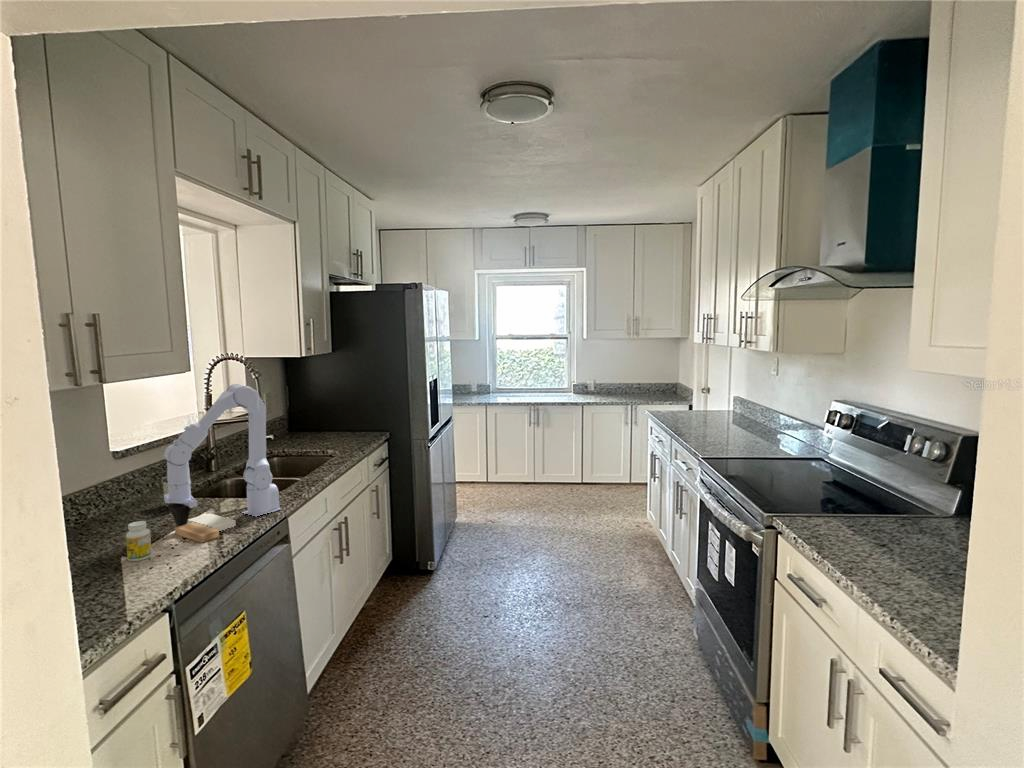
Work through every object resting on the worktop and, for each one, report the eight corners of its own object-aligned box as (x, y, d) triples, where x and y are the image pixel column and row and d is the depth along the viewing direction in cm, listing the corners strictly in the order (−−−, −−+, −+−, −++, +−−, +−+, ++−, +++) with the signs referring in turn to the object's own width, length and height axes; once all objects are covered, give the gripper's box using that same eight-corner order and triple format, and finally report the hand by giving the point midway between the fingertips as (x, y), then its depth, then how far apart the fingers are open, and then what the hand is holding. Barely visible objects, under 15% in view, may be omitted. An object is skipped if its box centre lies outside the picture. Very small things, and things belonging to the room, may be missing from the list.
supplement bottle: (155, 556, 144) (153, 522, 143) (133, 563, 139) (130, 528, 138) (145, 552, 146) (143, 518, 146) (123, 559, 142) (121, 524, 141)
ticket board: (209, 519, 173) (208, 512, 172) (235, 526, 166) (235, 519, 166) (185, 526, 166) (185, 519, 166) (212, 534, 159) (212, 527, 159)
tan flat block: (191, 528, 164) (191, 522, 164) (219, 536, 157) (218, 530, 157) (175, 533, 160) (174, 527, 159) (202, 542, 153) (202, 535, 153)
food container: (199, 505, 187) (198, 477, 186) (181, 510, 181) (179, 482, 180) (181, 500, 193) (179, 473, 192) (163, 504, 188) (161, 477, 187)
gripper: (152, 483, 161) (155, 526, 162) (179, 490, 154) (182, 535, 155) (176, 477, 167) (178, 519, 168) (203, 484, 160) (205, 527, 161)
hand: (182, 526), depth 162 cm, fingers closed
